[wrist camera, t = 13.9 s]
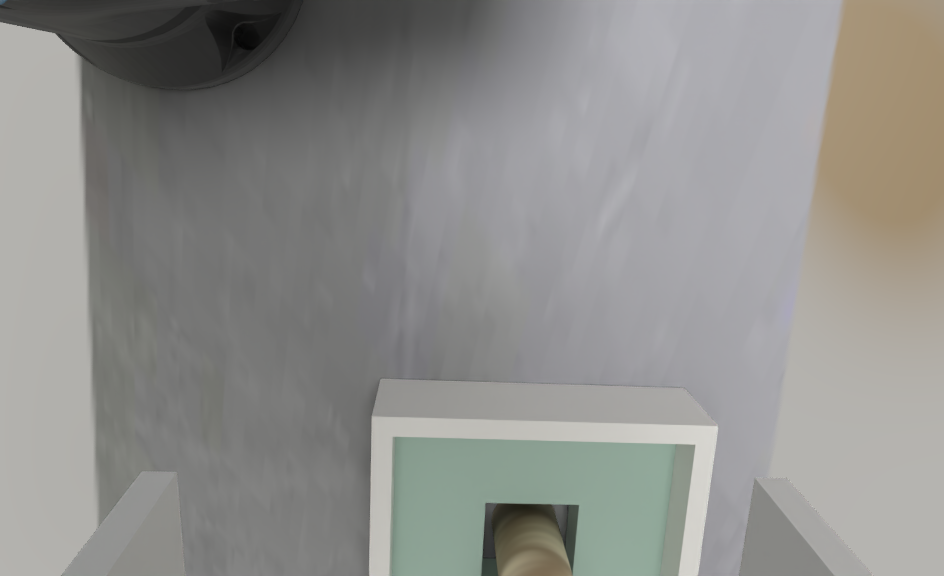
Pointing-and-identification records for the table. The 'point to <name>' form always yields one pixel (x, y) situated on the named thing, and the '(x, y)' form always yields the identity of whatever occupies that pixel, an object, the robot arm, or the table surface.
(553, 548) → the peg
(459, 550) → the bore box
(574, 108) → the table surface
